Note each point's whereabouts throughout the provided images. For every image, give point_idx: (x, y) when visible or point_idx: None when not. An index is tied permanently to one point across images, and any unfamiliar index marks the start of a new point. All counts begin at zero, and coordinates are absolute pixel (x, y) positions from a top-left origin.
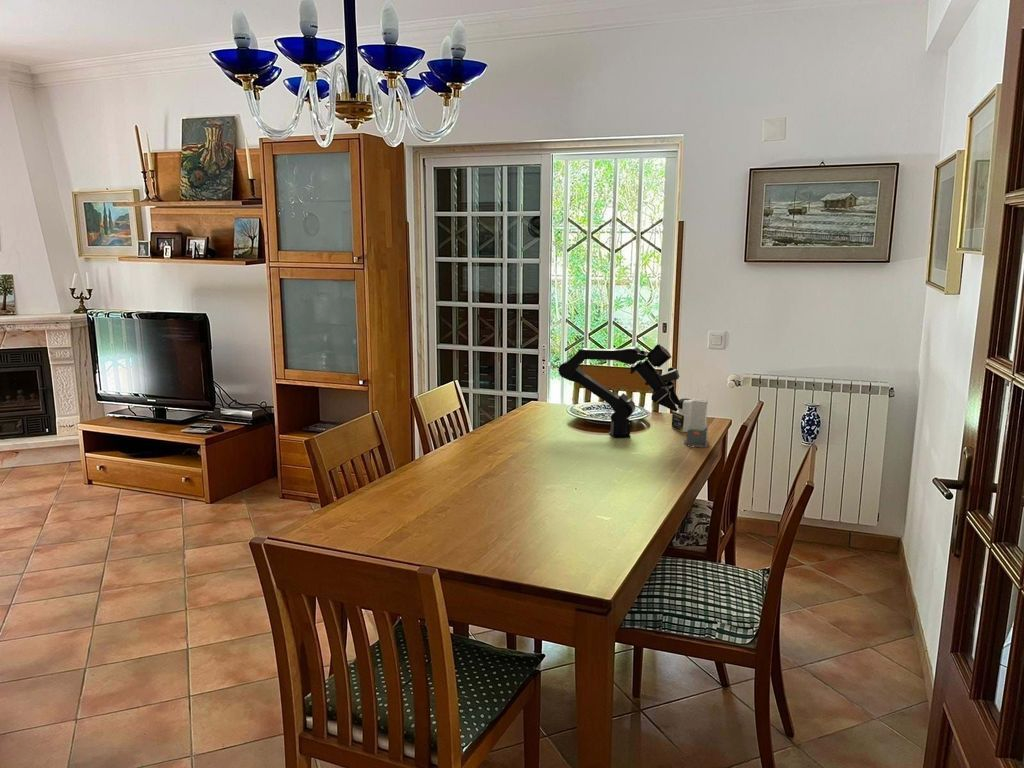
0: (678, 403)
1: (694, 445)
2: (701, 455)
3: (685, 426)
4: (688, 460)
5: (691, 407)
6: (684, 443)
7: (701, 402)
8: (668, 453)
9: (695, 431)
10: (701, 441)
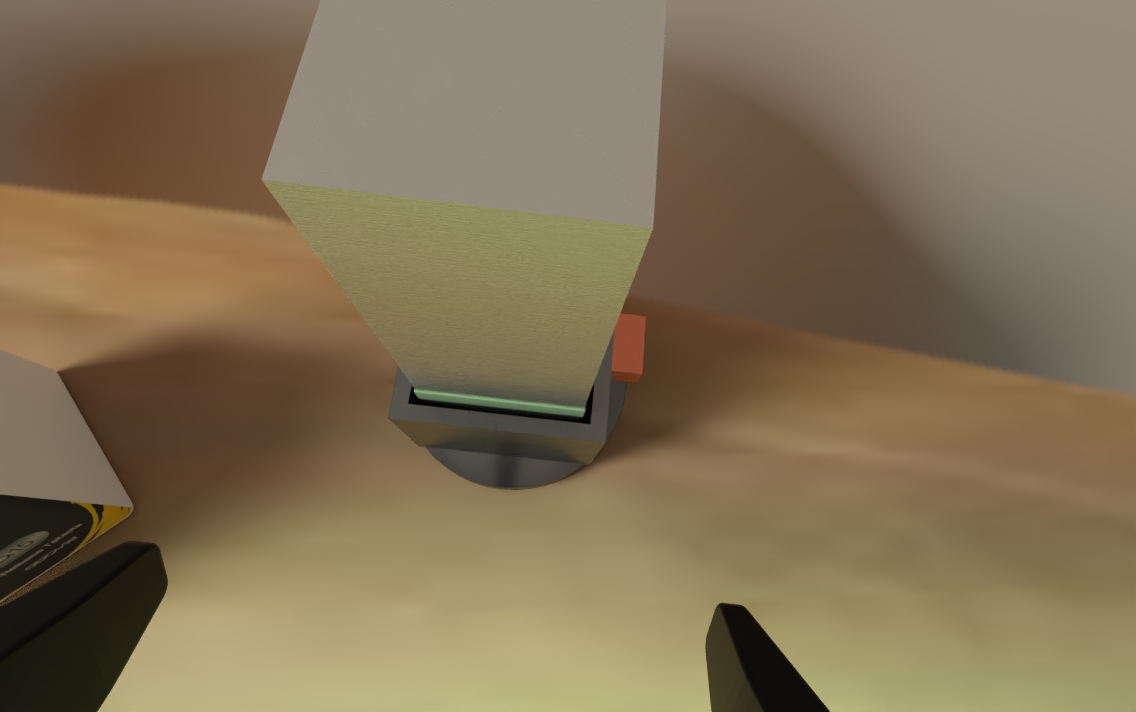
0: (129, 609)
1: (623, 395)
2: (816, 349)
3: (79, 478)
4: (991, 447)
5: None
6: (544, 484)
7: (658, 52)
8: (886, 625)
9: (635, 355)
10: None
